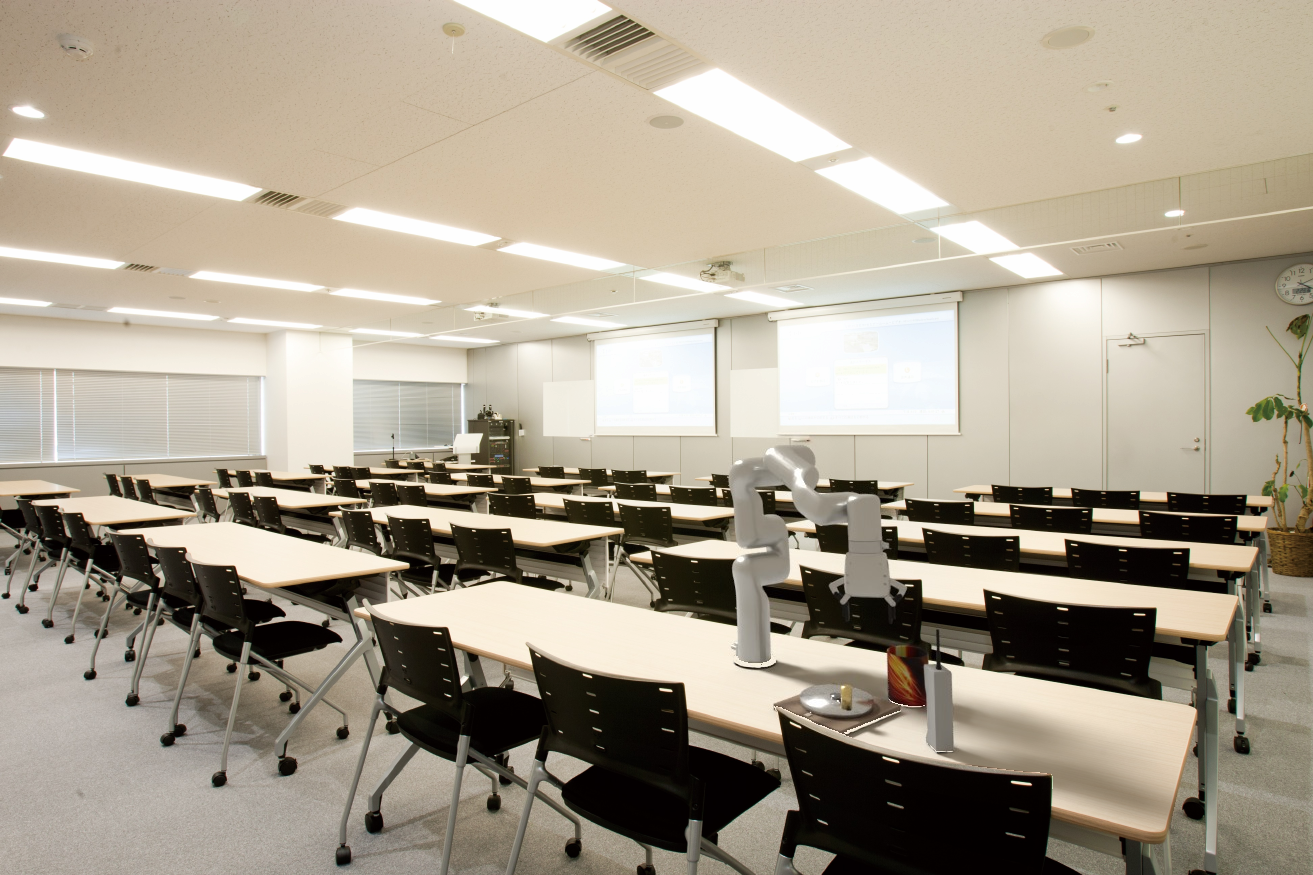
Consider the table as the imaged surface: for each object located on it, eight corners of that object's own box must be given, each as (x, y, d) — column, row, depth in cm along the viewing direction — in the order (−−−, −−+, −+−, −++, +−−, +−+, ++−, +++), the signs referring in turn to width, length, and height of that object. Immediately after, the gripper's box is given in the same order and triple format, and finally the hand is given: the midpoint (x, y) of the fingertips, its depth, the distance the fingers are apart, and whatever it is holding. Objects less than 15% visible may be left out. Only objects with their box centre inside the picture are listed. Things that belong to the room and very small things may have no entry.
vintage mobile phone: (943, 742, 145) (939, 624, 145) (954, 752, 140) (950, 631, 140) (925, 742, 145) (922, 625, 145) (936, 753, 140) (932, 631, 140)
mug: (937, 716, 158) (935, 664, 158) (881, 701, 168) (879, 652, 168) (953, 703, 165) (952, 654, 165) (898, 689, 175) (897, 643, 175)
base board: (773, 709, 165) (773, 702, 165) (833, 687, 178) (833, 681, 178) (840, 737, 148) (840, 730, 148) (900, 711, 161) (900, 704, 161)
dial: (791, 692, 170) (790, 666, 170) (856, 688, 172) (855, 662, 172) (813, 720, 154) (813, 691, 154) (886, 715, 155) (885, 686, 155)
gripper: (905, 545, 159) (908, 619, 159) (829, 544, 166) (832, 615, 165) (904, 550, 152) (908, 627, 152) (825, 549, 159) (828, 623, 158)
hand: (868, 621), depth 159 cm, fingers open, 9 cm apart
